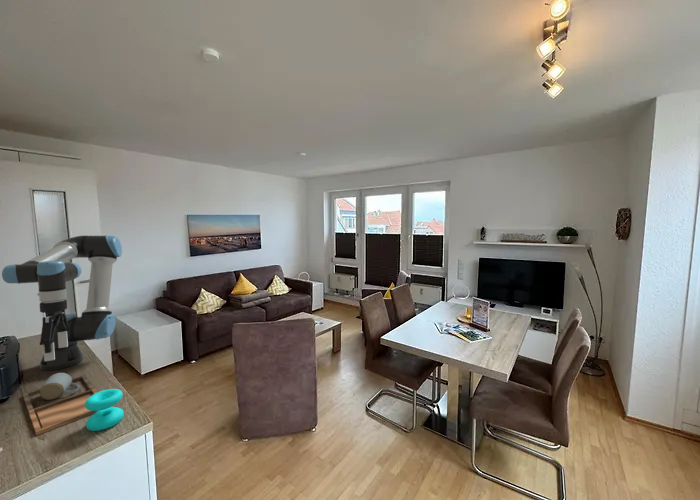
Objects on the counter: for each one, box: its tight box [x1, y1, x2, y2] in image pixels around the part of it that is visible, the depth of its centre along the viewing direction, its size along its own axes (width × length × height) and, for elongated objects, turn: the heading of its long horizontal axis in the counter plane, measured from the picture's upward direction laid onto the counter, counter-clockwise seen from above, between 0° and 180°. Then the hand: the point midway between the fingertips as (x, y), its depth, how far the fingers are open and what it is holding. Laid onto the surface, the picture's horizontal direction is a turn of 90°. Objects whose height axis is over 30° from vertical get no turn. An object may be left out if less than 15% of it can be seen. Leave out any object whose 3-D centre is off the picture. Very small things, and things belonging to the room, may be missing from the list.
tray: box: [22, 374, 99, 436], centre depth 113 cm, size 35×18×1 cm, turn 53°
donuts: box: [85, 388, 125, 432], centre depth 101 cm, size 10×10×10 cm
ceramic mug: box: [39, 372, 80, 401], centre depth 117 cm, size 11×8×8 cm
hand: (56, 353), depth 116 cm, fingers open, 13 cm apart
